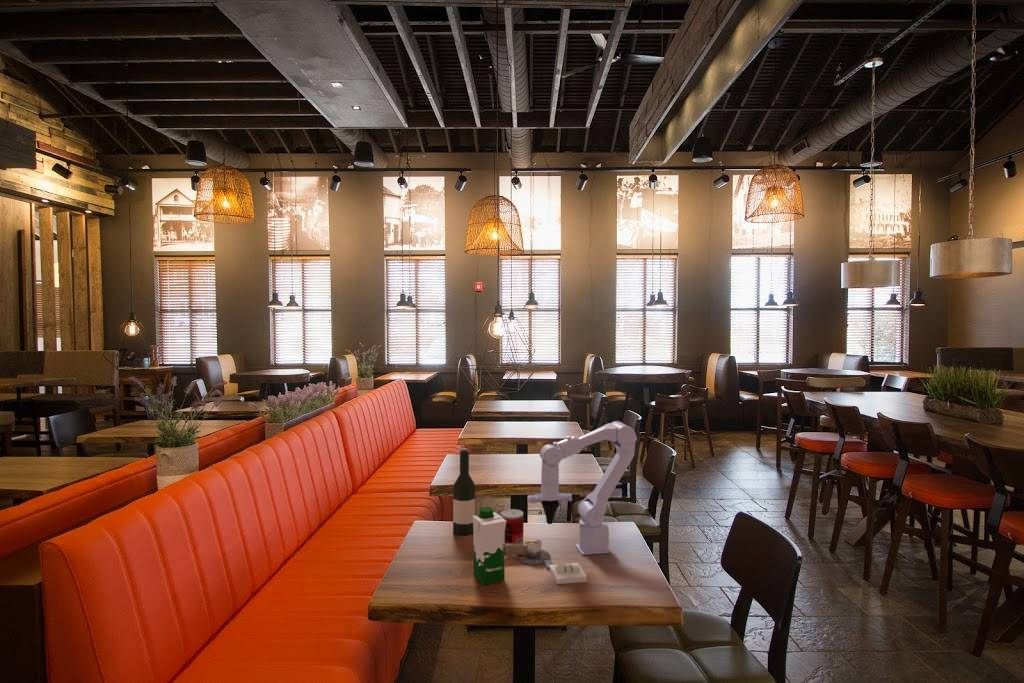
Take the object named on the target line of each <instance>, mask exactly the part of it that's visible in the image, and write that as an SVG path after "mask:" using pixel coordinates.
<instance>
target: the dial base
mask: <svg viewBox="0 0 1024 683" xmlns="http://www.w3.org/2000/svg"><path fill="white" fill-rule="evenodd" d="M515 556H516V560H517V562H519V563H520V564H523V565H526V566H534V567H535V566H542V565H544V566H545V569H546V570H547V571H550V570H549V565H554V563H553V561H552V560H551V558H552V557H551V554H550V553H549V552H548V551H547V550H544V549H541V557H540V558H534V559H531V558H528V557H526V555H515Z"/></svg>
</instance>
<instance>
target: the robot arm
mask: <svg viewBox="0 0 1024 683" xmlns="http://www.w3.org/2000/svg"><path fill="white" fill-rule="evenodd" d="M605 440H606V441H610V442H613V443H614V446H615V449H616V453H615V455H614V457H613V458H612V460H611V461H610V462H609V464H608V466H607V468H606V470H605V471H604V473H603V475H602V476H601V478H600V479H599V481H598V483H597V485H596V486H595V488H594V490H593V491H592V492H591V493H588V494H587V495H586V496H585V497H584V499H582V500H581V501H580V502H579V504H578V505H577V514H579V515H580V519H579V520H578V521H579V527H578V528H579V531H578V532H579V533H578V536H579V538H578V543H575V544H574V545H575V547H576V548H577V550H578V551H579V552H580V554H581V555H582V556H585V555H600V554H601V555H602V554H609V553H610V546H609V545H610V544H609V543H610V532H609V526H608V524H607V522H604V519H605V514H606V512H607V510H608V505H607V501H608V500H609V499H610V497H611V495H612V493H614V490H615V489H616V487H617V486H618V483H619V481H621V478H622V477H623V475H624V473H625V472H626V470H627V468H628V467H629V465H630V464H631V462H632V461H633V458H634V456H635V452H636V451H635V449H636V442H637V440H638V437H637V434H636V432H635V428H633V427H631V426H629V425H627V424H625V423H623V422H622V421H619V420H614V421H612V422H611V423H610V422H608V423H606V424H603V426H600V427H599V428H596V429H595V430H592V431H590V432H588V433H586V434H584V435H581V436H579V437H576V436H574V435H572V436H570V435H567V436H566V437H565V438H564V439H562V440H560V441H554V442H552V444H545V445H543V446H542V447H541V449H540V452H539V456H540V458H541V470H540V471H541V474H540V475H541V478H540V479H541V480H540V483H541V484H540V488H541V489H540V493H537V494H529V495H527V503H528V504H532V503H541V506H542V508H543V511H544V515H545V520H546V524H547V525H552V524H553V521H554V518H555V515H556V512H557V511H558V508H559V506H560V503H559V502H561V501H562V502H564V501H565V502H566V501H567V502H572V500H573V495H572V494H571V493H570V492H569V493H563V492H559V490H560V489H559V487H560V482H559V481H560V476H559V475H560V469H559V468H560V463H561V461H562V460H564V459H567V458H570V457H572V456H575V455H577V454H579V453H580V452H582V451H581V450H582V449H583V448H584V447H588V446H591V445H593V444H595V443H599V442H601V441H605Z"/></svg>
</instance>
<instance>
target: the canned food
mask: <svg viewBox="0 0 1024 683" xmlns="http://www.w3.org/2000/svg"><path fill="white" fill-rule="evenodd" d="M500 516H501V517H503V519H505V520H506V526H505V543H524V511H522V510H521V509H517V508H515V509H514V508H510V509H505V510H503V511H501V513H500Z"/></svg>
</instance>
